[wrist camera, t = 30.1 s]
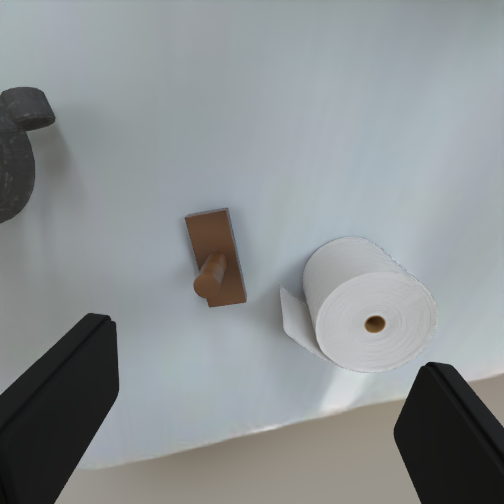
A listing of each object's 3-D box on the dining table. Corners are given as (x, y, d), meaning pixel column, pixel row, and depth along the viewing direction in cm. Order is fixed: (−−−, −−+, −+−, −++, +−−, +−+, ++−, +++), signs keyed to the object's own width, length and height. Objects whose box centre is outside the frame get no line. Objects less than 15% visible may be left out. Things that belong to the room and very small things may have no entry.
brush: (191, 211, 33) (165, 233, 25) (229, 204, 33) (216, 224, 24) (213, 295, 37) (197, 340, 28) (247, 290, 36) (242, 333, 28)
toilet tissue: (408, 283, 35) (460, 334, 25) (326, 335, 38) (346, 397, 28) (358, 217, 32) (396, 246, 23) (275, 278, 35) (279, 326, 26)
